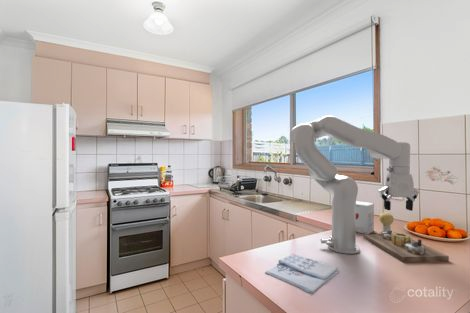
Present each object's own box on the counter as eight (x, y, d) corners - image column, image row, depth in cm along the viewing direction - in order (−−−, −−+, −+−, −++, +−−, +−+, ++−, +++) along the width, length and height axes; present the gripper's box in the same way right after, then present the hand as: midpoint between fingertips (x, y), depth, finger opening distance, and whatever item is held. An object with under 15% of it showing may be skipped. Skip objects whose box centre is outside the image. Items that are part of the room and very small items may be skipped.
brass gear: (398, 247, 101) (398, 237, 101) (387, 241, 108) (387, 232, 108) (415, 246, 101) (415, 237, 101) (402, 241, 108) (402, 232, 108)
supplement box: (349, 230, 130) (349, 202, 130) (356, 227, 136) (356, 200, 136) (368, 234, 123) (368, 205, 123) (374, 230, 129) (374, 203, 129)
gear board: (402, 262, 91) (402, 245, 91) (363, 238, 117) (363, 225, 117) (448, 261, 92) (448, 244, 92) (399, 238, 118) (399, 224, 118)
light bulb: (395, 233, 124) (395, 214, 124) (382, 233, 125) (382, 213, 125) (390, 230, 130) (390, 211, 130) (377, 229, 132) (377, 211, 132)
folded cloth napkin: (340, 273, 84) (340, 267, 84) (311, 297, 70) (311, 289, 70) (293, 256, 98) (293, 251, 98) (261, 274, 84) (261, 267, 84)
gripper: (385, 170, 101) (384, 211, 101) (425, 171, 101) (424, 212, 102) (374, 169, 109) (373, 207, 109) (412, 170, 109) (411, 208, 109)
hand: (398, 209), depth 105 cm, fingers open, 9 cm apart
